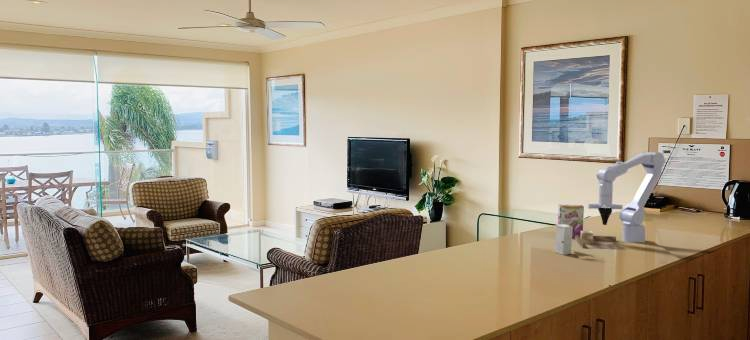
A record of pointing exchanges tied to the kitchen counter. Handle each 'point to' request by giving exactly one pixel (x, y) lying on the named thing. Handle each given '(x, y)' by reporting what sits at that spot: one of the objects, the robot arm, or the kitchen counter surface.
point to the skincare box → (563, 239)
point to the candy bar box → (571, 217)
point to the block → (587, 237)
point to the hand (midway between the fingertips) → (604, 224)
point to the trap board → (599, 244)
